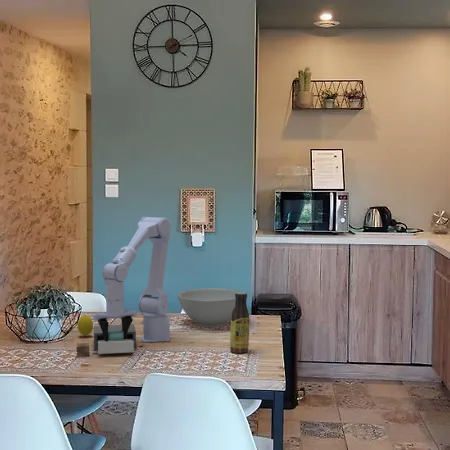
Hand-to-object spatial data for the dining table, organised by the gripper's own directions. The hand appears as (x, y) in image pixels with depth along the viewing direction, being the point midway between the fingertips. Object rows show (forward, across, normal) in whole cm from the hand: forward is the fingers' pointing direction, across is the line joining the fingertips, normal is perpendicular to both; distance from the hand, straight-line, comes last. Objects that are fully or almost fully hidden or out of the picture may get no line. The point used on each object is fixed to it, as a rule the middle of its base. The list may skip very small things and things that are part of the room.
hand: (115, 339), depth 215 cm
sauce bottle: (+4, -38, +18) cm, 42 cm away
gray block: (+4, -2, -9) cm, 10 cm away
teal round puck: (-1, 0, 0) cm, 1 cm away
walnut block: (+4, +10, -2) cm, 11 cm away
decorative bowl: (+4, -47, -22) cm, 52 cm away
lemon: (+4, +3, -25) cm, 26 cm away
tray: (+3, 0, 0) cm, 3 cm away
